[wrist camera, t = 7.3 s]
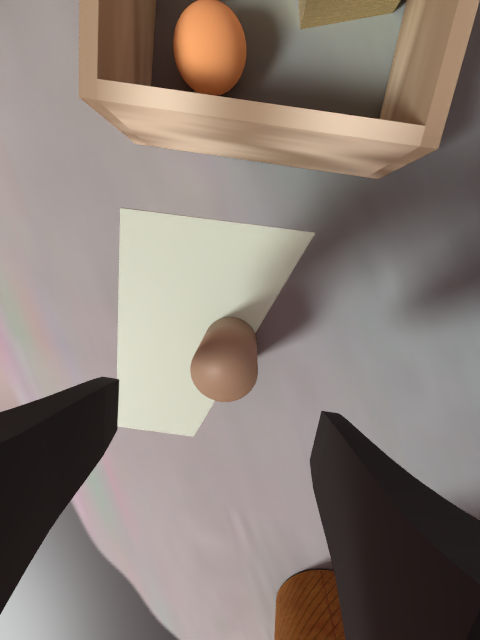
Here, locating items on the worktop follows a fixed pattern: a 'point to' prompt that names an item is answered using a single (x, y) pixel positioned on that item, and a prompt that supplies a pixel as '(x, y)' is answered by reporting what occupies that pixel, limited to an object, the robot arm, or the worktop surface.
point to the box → (270, 119)
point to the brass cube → (341, 10)
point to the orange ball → (209, 47)
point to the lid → (193, 313)
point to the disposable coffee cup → (309, 608)
